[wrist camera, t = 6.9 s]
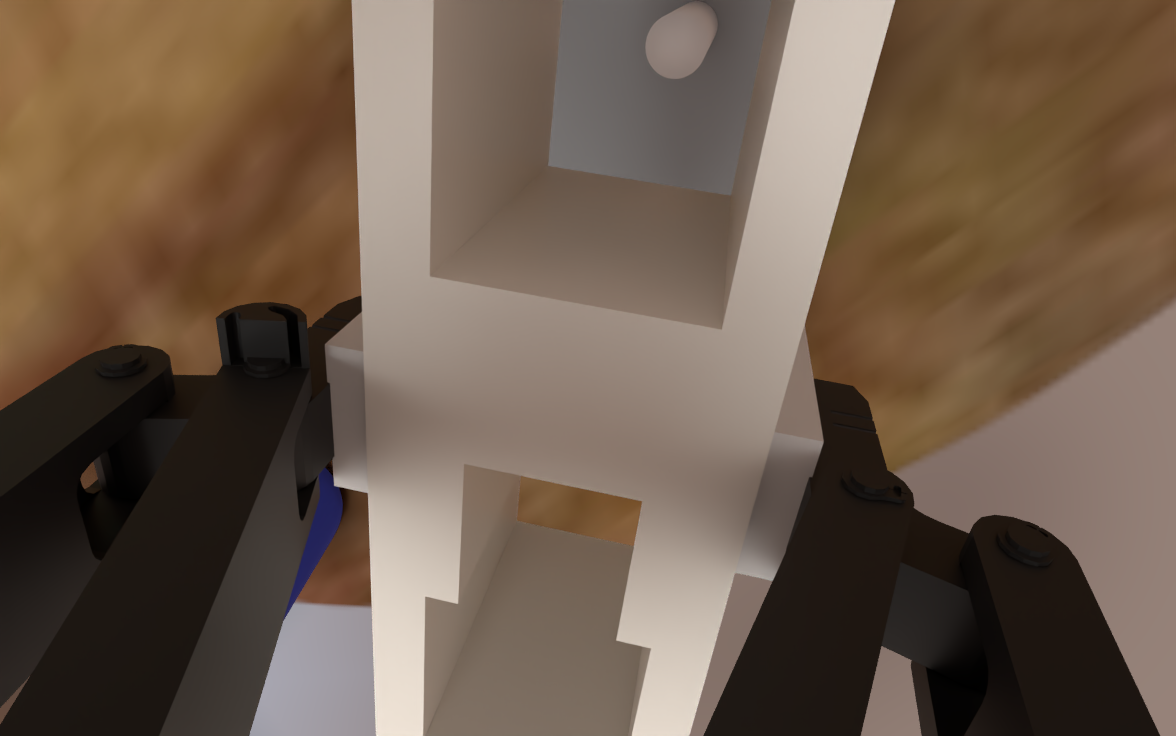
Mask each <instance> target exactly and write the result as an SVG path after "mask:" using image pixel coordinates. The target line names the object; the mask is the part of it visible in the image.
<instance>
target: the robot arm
mask: <svg viewBox="0 0 1176 736" xmlns="http://www.w3.org/2000/svg"><path fill="white" fill-rule="evenodd" d="M216 323H217V330H218V337H219V344H220V351H221V358H222V367H221V368H220V370H219V372H218V373H217V375H173V373H172V368H171V362H170V357H169V355H168V354H166V353H165V352H164V351H163V350H161V349H157V348H154V347H150V346H138V345H133V344H130V345H124V346H122V345H118V346H112V347H110V348H108V349H104V350H100V351H97V352H94V353H92V354H90V355H88V356H86V357H84V358H81V359H80V360H78V361H77V362H75V363H74V364H72V365H71V366H69V367H67V368H66V369H64V370H63V371H61V372H60V373H58V374H57V375H55V376H53V377H52V378H50V379H49V380H47V381H46V382H44V383H43V384H41V385H39V386H38V387H36V388H35V389H33V390H32V391H30V392H29V393H27V394H26V395H24V396H22V397H21V398H19V399H18V400H16V401H15V402H13V403H12V404H10V405H8V406H7V407H5V408H4V409H2V410H1V411H0V707H1V706H2V705H3V704H4V703H5V702H6V701H7V700H8V699H9V698H10V696H12V695H13V693H14V692H15V691H16V690H17V689H18V688H19V687H20V686H21V685H22V684H23V683H24V682H25V681H26V679H27V678H28V677H29V676H30V675H31V676H30V677H29V679H28V681H27V683H26V684H25V685H24V687H23V689H22V690H21V692H20V693H19V695H18V697H17V698H16V700H15V702H14V703H13V705H12V706H11V708H10V710H9V711H8V713H7V715H6V716H5V718H4V720H3V721H2V723H1V724H0V736H249V734H250V730H251V727H252V724H253V721H254V717H255V713H256V710H257V707H258V703H259V700H260V697H261V694H262V690H263V687H264V684H265V680H266V677H267V673H268V670H269V667H270V663H271V660H272V656H273V653H274V650H275V647H276V643H277V640H278V636H279V633H280V630H281V626H282V623H283V620H284V616H285V613H286V610H287V606H288V603H289V599H290V596H291V593H292V589H293V586H294V583H295V579H296V576H297V573H298V569H299V566H300V562H301V559H302V556H303V552H304V549H305V546H306V542H307V539H308V536H309V532H310V529H311V525H312V522H313V519H314V515H315V512H316V509H317V505H318V502H319V499H320V486H319V474H320V473H321V471H322V470H323V469H324V468H325V467H326V466H327V464H328V463H329V462H330V461H331V460H332V461H333V476H334V486H337V487H342V488H346V489H351V490H356V491H360V492H365V493H368V476H367V446H366V416H365V385H364V355H363V325H362V296H358V297H356V298H353V299H350V300H347V301H345V302H342V303H339V304H337V305H336V306H335V307H334V308H332V309H331V310H330V311H329V312H327V313H326V314H325V315H324V317H323V318H320V319H319V320H317V321H316V322H315V323H314V324H313V325H312V327H309V328H308V329H307V319H306V315H305V314H304V313H303V312H302V311H301V310H300V309H298V308H296V307H293V306H290V305H288V304H280V303H273V302H267V303H251V304H246V305H240V306H236V307H234V308H231V309H229V310H226V311H224V312H223V313H222V314H220V315H219V316H218V317H217V318H216ZM872 418H873V417H872V414H871V410H870V407H869V403H868V401H867V400H866V399H865V398H864V397H863V396H862V395H861V394H860V393H859V392H858V391H857V390H856V389H855V388H854V387H853V386H850V385H845V384H840V383H834V382H829V381H824V380H818V379H813V373H812V367H811V361H810V354H809V348H808V342H807V336H806V330H805V325H804V328H803V332H802V335H801V339H800V342H799V346H798V350H797V353H796V357H795V360H794V364H793V367H792V371H791V375H790V378H789V382H788V385H787V389H786V392H785V396H784V400H783V403H782V407H781V410H780V414H779V417H778V421H777V425H776V428H775V432H774V435H773V439H772V442H771V446H770V450H769V453H768V457H767V460H766V464H765V467H764V471H763V475H762V478H761V482H760V485H759V489H758V492H757V496H756V500H755V503H754V507H753V510H752V514H751V517H750V521H749V525H748V528H747V532H746V535H745V539H744V542H743V546H742V550H741V553H740V557H739V560H738V564H737V567H736V571H735V573H739V574H743V575H748V576H753V577H757V578H762V579H766V580H771V581H773V582H772V584H771V586H770V588H769V591H768V593H767V595H766V597H765V600H764V602H763V604H762V606H761V609H760V611H759V613H758V615H757V618H756V620H755V622H754V624H753V626H752V629H751V631H750V633H749V635H748V637H747V640H746V642H745V644H744V647H743V649H742V651H741V653H740V656H739V658H738V660H737V662H736V664H735V667H734V669H733V671H732V673H731V676H730V678H729V680H728V682H727V684H726V687H725V689H724V691H723V694H722V696H721V698H720V700H719V702H718V705H717V707H716V709H715V711H714V713H713V716H712V718H711V720H710V722H709V725H708V727H707V729H706V731H705V733H704V736H861V732H862V727H863V723H864V719H865V714H866V710H867V706H868V701H869V697H870V693H871V689H872V684H873V680H874V675H875V671H876V667H877V662H878V658H879V654H880V649H881V646H883V647H886V648H887V649H889V650H892V651H894V652H896V653H898V654H900V655H902V656H904V657H906V658H908V659H910V660H912V661H911V670H912V676H913V683H914V689H915V696H916V702H917V708H918V715H919V721H920V727H921V734H922V736H1160V734H1159V732H1158V730H1157V728H1156V726H1155V724H1154V722H1153V720H1152V717H1151V715H1150V713H1149V711H1148V709H1147V707H1146V705H1145V703H1144V700H1143V698H1142V696H1141V694H1140V692H1139V690H1138V688H1137V686H1136V684H1135V682H1134V679H1133V677H1132V675H1131V673H1130V671H1129V669H1128V667H1127V664H1126V662H1125V660H1124V658H1123V656H1122V654H1121V652H1120V650H1119V647H1118V645H1117V643H1116V641H1115V639H1114V637H1113V635H1112V633H1111V630H1110V628H1109V626H1108V624H1107V622H1106V620H1105V618H1104V616H1103V613H1102V611H1101V609H1100V607H1099V605H1098V603H1097V601H1096V599H1095V597H1094V594H1093V592H1092V590H1091V588H1090V586H1089V584H1088V582H1087V580H1086V577H1085V575H1084V573H1083V571H1082V569H1081V567H1080V565H1079V563H1078V560H1077V559H1076V558H1075V556H1074V555H1073V554H1072V552H1071V551H1070V550H1069V548H1068V547H1067V546H1066V545H1064V544H1063V543H1062V542H1061V541H1060V540H1058V539H1057V538H1056V537H1055V536H1054V535H1052V534H1051V533H1050V532H1048V531H1046V530H1045V529H1043V528H1040V527H1039V526H1037V525H1035V524H1033V523H1030V522H1026V521H1022V520H1020V519H1017V518H1014V517H1008V516H1000V515H992V516H986V517H981V518H980V519H979V520H978V521H977V522H976V523H975V524H974V525H973V527H972V529H971V531H970V533H966V532H964V531H961V530H959V529H956V528H954V527H951V526H949V525H946V524H944V523H941V522H939V521H937V520H934V519H932V518H930V517H928V516H926V515H924V514H922V513H921V512H919V511H917V510H916V509H914V508H913V507H914V499H913V493H912V492H911V490H910V489H909V488H908V486H907V485H906V484H905V482H904V481H902V480H901V479H900V478H898V477H897V476H896V475H894V474H893V473H892V472H890V471H887V467H886V464H885V460H884V456H883V453H882V449H881V446H880V442H879V439H878V435H877V434H876V428H875V425H874V421H872ZM93 461H94V465H95V469H96V473H97V477H98V480H97V481H95V482H94V483H93V484H92V485H91V486H90V487H88V488H86V489H84V488H83V486H82V484H81V481H80V478H81V475H82V473H83V472H84V471H85V470H86V468H87V467H88V466H89V465H90V464H91V463H92V462H93Z"/></svg>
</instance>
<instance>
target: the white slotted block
mask: <svg viewBox="0 0 1176 736" xmlns="http://www.w3.org/2000/svg"><path fill="white" fill-rule="evenodd" d="M562 3H563V0H352V21H353V52H354V82H355V112H356V143H357V173H358V203H359V234H360V264H361V294H362V325H363V355H364V385H365V416H366V446H367V476H368V507H369V537H370V568H371V598H372V628H373V658H374V687H375V718H376V736H689V735H690V732H691V728H692V724H693V721H694V717H695V714H696V710H697V707H698V703H699V699H700V696H701V692H702V689H703V685H704V682H705V678H706V675H707V671H708V667H709V664H710V660H711V657H712V653H713V650H714V646H715V642H716V638H717V635H718V632H719V628H720V624H721V620H722V617H723V614H724V610H725V607H726V603H727V599H728V596H729V592H730V589H731V585H732V582H733V578H734V574H735V571H736V567H737V564H738V560H739V557H740V553H741V550H742V546H743V542H744V539H745V535H746V532H747V528H748V525H749V521H750V517H751V514H752V510H753V507H754V503H755V500H756V496H757V492H758V489H759V485H760V482H761V478H762V475H763V471H764V467H765V464H766V460H767V457H768V453H769V450H770V446H771V442H772V439H773V435H774V432H775V428H776V425H777V421H778V417H779V414H780V410H781V407H782V403H783V400H784V396H785V392H786V389H787V385H788V382H789V378H790V375H791V371H792V367H793V364H794V360H795V357H796V353H797V350H798V346H799V342H800V339H801V335H802V332H803V328H804V325H805V321H806V317H807V314H808V310H809V307H810V303H811V300H812V296H813V292H814V289H815V285H816V282H817V278H818V275H819V271H820V267H821V264H822V260H823V257H824V253H825V250H826V246H827V242H828V239H829V235H830V232H831V228H832V225H833V221H834V217H835V214H836V210H837V207H838V203H839V200H840V196H841V193H842V189H843V185H844V182H845V178H846V175H847V171H848V168H849V164H850V160H851V157H852V153H853V150H854V146H855V143H856V139H857V135H858V132H859V128H860V125H861V121H862V118H863V114H864V110H865V107H866V103H867V100H868V96H869V93H870V89H871V85H872V82H873V78H874V75H875V71H876V68H877V64H878V60H879V57H880V53H881V50H882V46H883V43H884V39H885V35H886V32H887V28H888V25H889V21H890V18H891V14H892V10H893V7H894V3H895V0H772V1H771V6H770V11H769V15H768V20H767V25H766V30H765V34H764V39H763V44H762V49H761V54H760V58H759V63H758V68H757V73H756V78H755V82H754V87H753V92H752V97H751V101H750V106H749V111H748V116H747V121H746V125H745V130H744V135H743V140H742V145H741V149H740V154H739V159H738V164H737V169H736V173H735V178H734V183H733V188H732V192H731V196H730V195H724V194H718V193H712V192H706V191H700V190H694V189H687V188H681V187H675V186H669V185H663V184H657V183H650V182H644V181H638V180H632V179H626V178H620V177H613V176H607V175H601V174H595V173H589V172H583V171H576V170H570V169H564V168H558V167H552V166H548V161H549V150H550V138H551V127H552V116H553V105H554V93H555V82H556V71H557V59H558V48H559V37H560V26H561V14H562ZM521 476H524V477H529V478H534V479H539V480H543V481H548V482H553V483H558V484H563V485H567V486H572V487H577V488H582V489H586V490H591V491H596V492H601V493H605V494H610V495H615V496H620V497H625V498H629V499H634V500H639V501H642V506H641V512H640V517H639V522H638V528H637V533H636V538H635V543H634V546H630V545H625V544H621V543H616V542H611V541H607V540H602V539H598V538H593V537H588V536H584V535H579V534H574V533H570V532H565V531H561V530H556V529H551V528H547V527H542V526H538V525H533V524H528V523H524V522H519V521H517V511H518V500H519V489H520V477H521Z"/></svg>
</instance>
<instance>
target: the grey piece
mask: <svg viewBox="0 0 1176 736" xmlns="http://www.w3.org/2000/svg"><path fill="white" fill-rule="evenodd" d="M771 1H772V0H563V3H562V14H561V26H560V37H559V48H558V59H557V71H556V82H555V93H554V105H553V116H552V127H551V138H550V150H549V161H548V166H552V167H558V168H564V169H570V170H576V171H583V172H589V173H595V174H601V175H607V176H613V177H620V178H626V179H632V180H638V181H644V182H650V183H657V184H663V185H669V186H675V187H681V188H687V189H694V190H700V191H706V192H712V193H718V194H724V195H730V196H731V192H732V188H733V183H734V178H735V173H736V169H737V164H738V159H739V154H740V149H741V145H742V140H743V135H744V130H745V125H746V121H747V116H748V111H749V106H750V101H751V97H752V92H753V87H754V82H755V78H756V73H757V68H758V63H759V58H760V54H761V49H762V44H763V39H764V34H765V30H766V25H767V20H768V15H769V11H770V6H771Z"/></svg>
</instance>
